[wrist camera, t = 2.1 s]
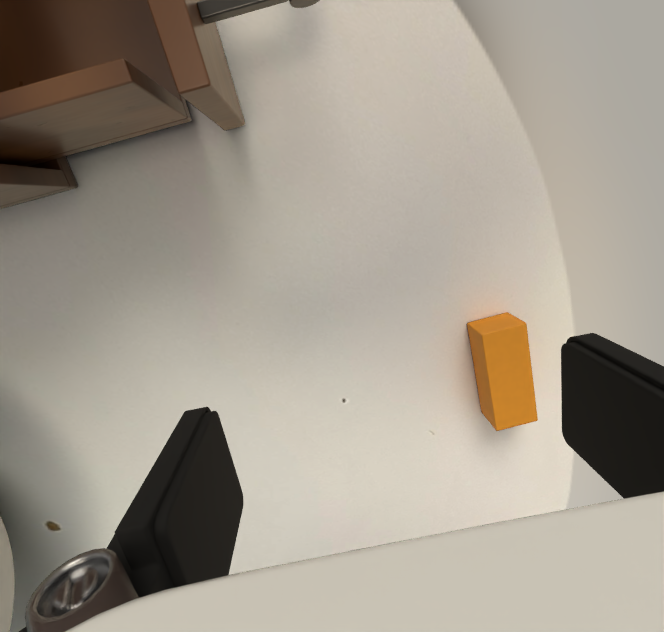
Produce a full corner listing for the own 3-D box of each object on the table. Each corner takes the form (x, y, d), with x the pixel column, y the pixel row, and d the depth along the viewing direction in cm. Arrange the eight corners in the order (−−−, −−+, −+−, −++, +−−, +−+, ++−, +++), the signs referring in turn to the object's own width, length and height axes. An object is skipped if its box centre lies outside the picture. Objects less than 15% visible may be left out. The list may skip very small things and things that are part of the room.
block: (466, 322, 26) (481, 334, 24) (507, 311, 26) (526, 322, 24) (481, 412, 28) (496, 431, 26) (519, 402, 28) (538, 420, 26)
